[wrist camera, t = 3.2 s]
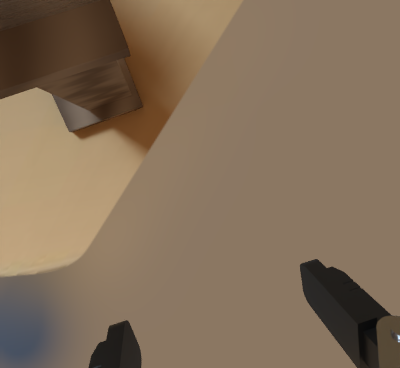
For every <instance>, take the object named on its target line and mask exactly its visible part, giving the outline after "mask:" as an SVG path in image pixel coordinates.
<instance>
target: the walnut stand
mask: <svg viewBox="0 0 400 368" xmlns="http://www.w3.org/2000/svg"><path fill="white" fill-rule="evenodd" d="M128 56H130V52H129V48H128V46H127V43H126V41H125V38H124V35H123V33H122V30H121V28H120V25H119V22H118V20H117V17H116V15H115V12H114V9H113V7H112V4H111V2H110V0H100V1H97V2H94V3H90V4H87V5H84V6H81V7H77V8H74V9H71V10H68V11H64V12H61V13H58V14H55V15H51V16H48V17H45V18H42V19H38V20H35V21H32V22H29V23H25V24H22V25H19V26H16V27H12V28H9V29H6V30H3V31H0V99H2V98H5V97H8V96H11V95H14V94H17V93H20V92H23V91H26V90H29V89H32V88H35V87H38V88H40V89H42V90H44V91H47V92H49V93H51V94H52V96H53V98H54V100H55V102H56V104H57V106H58V109H59V111H60V113H61V115H62V117H63V119H64V122H65V124H66V126H67V128H68V130H69V132H74V131H77V130H80V129H82V128H85V127H88V126H91V125H94V124H97V123H99V122H102V121H105V120H108V119H111V118H113V117H116V116H119V115H122V114H125V113H127V112H130V111H133V110H136V109H139V108H141V107H143V105H142V103H141V100H140V97H139V95H138V92H137V90H136V87H135V85H134V82H133V80H132V77H131V75H130V72H129V69H128V67H127V64H126V62H125V59H124V58H125V57H128Z"/></svg>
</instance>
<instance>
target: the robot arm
mask: <svg viewBox="0 0 400 368" xmlns="http://www.w3.org/2000/svg"><path fill="white" fill-rule="evenodd" d="M300 271H301V278H302V285H303V292H304V295H305V297H306V300H307V301H308V303H309V305H310V306H311V307H312V309H313V310H314V311H315V313H316V314H317V315H318V317H319V318H320V319H321V321H322V322H323V323H324V324H325V326H326V327H327V328H328V330H329V331H330V332H331V334H332V335H333V336H334V337H335V339H336V340H337V342H338V343H339V344H340V346H341V347H342V348H343V350H344V351H345V352H346V354H347V355H348V356H349V357H350V359H351V360H352V361H353V363H354V364H355V365H356V367H357V368H400V316H392V315H391V314H390V313H388V312H387V311H386V310H385V309H384V308H383V307H382V306H381V305H380V304H378V303H377V302H376V301H375V300H374V299H373V298H372V297H371V296H370V295H369V294H368V293H366V292H365V291H364V290H363V289H361V288H360V286H359V285H358V284H357V283H355V282H353V280H352V279H351V278H350V277H349V276H348V275H347V274H346V273H344V272H343V271H341V270H338V269H336V268H334V267H330V268H326V267H325V266H324V265H323V264H322V263H321V262H319V260H317V259H315V260H312V261H308V262H305V263H302V264H301V265H300ZM89 368H141V352H140V348H139V344H138V342H137V340H136V338H135V335H134V333H133V330H132V328H131V326H130V323H129V322H128V321H127V320H126V321H123V322H120V323H117V324H114V325H111V326H109V329H108V334H107V339H106V341H104V342H100V343H99V344H98V345H97V347H96V349H95V351H94V352H93V354H92V356H91V360H90V364H89Z"/></svg>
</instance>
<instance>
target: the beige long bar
mask: <svg viewBox="0 0 400 368" xmlns="http://www.w3.org/2000/svg"><path fill="white" fill-rule="evenodd" d="M97 1H100V0H0V31H3V30H6V29H9V28H12V27H16V26H19V25H22V24H25V23H29V22H32V21H35V20H38V19H42V18H45V17H48V16H51V15H55V14H58V13H61V12H64V11H68V10H71V9H74V8H77V7H81V6H84V5H87V4H90V3H94V2H97Z"/></svg>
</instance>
